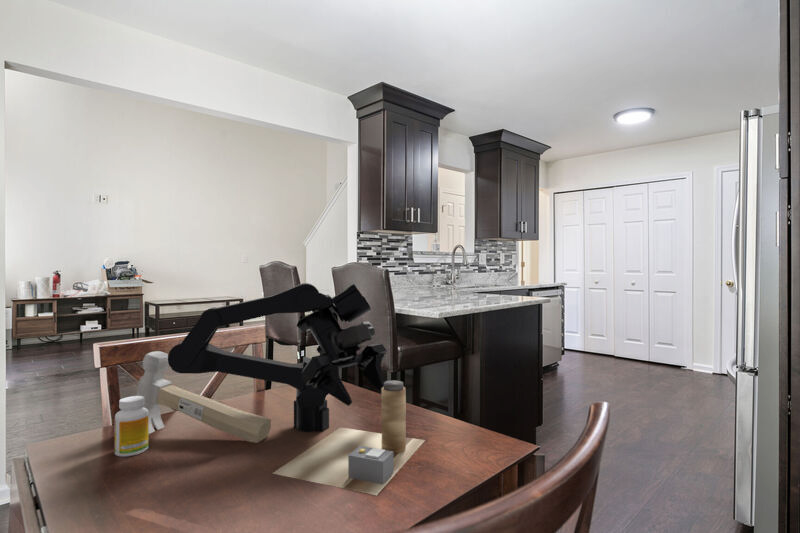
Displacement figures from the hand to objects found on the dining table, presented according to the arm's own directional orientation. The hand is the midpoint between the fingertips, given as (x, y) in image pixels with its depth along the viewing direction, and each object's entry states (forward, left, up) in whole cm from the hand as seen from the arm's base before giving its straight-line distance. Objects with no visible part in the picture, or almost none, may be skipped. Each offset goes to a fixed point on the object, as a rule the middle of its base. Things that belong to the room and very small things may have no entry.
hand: (368, 398), depth 84 cm
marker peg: (+6, -1, -8) cm, 10 cm away
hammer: (-34, -8, -9) cm, 36 cm away
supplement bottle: (-40, -18, -9) cm, 45 cm away
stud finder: (+7, -12, -8) cm, 16 cm away
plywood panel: (0, -6, -9) cm, 11 cm away
